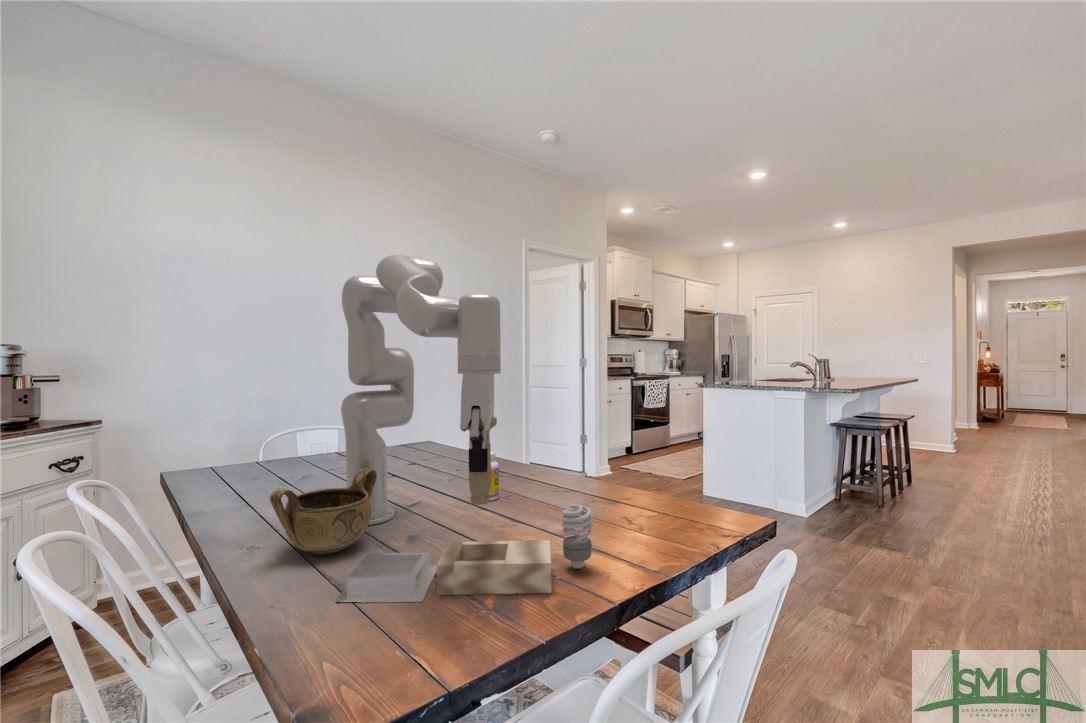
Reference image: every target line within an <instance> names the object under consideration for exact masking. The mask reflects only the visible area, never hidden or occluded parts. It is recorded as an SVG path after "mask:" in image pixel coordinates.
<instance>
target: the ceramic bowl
mask: <svg viewBox="0 0 1086 723" xmlns="http://www.w3.org/2000/svg"><path fill="white" fill-rule="evenodd" d="M376 478H377V474H376V471H375V470H374V469H369V468H361V469H359V470H358V471H357V473H356V474H355V476H354V478H353V481H352V485H351V486H350V487H349V488H347V487H334V488H331V487H330V488H321V489H315V490H311V491H310V490H309V491H306V492H302V493H298V494H296V493H295V492H294V491H292V490H290V489H286V488H276V489H274V490H273V491H272V492H271V495H270V496H269V501H270V504H271V507H272V508H273V510H274V512H275V514H276V516H277V518H278V520H279V522H280V524H281V526H282V527H283V529H284V532H285V534H286V536H287V537H288V538H289V541H290V542H291V543H292V544H293V545H294V546H295V547H297V548H298V549H300V550H302V551H303V552H306V553H309V554H314V555H320V556H321V555H330V554H334V553H338V552H341V551H344V549H347V548H348V547H350V546H352V545H354V544H355V543H356V542H357V541H358V540H359V539H360V538H362V536H363V535H364V533H365V532H366V531H367V529H368V526H369V525H368V524H369V520H370V514H371V506H370V496H371V493H372V490H373V487H374V485H375V482H376ZM284 495H285V497H287V500H286V502H285V503H286V504H285V506H284V504H283V502H282V497H283V496H284Z"/></svg>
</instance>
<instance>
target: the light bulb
mask: <svg viewBox="0 0 1086 723" xmlns="http://www.w3.org/2000/svg"><path fill="white" fill-rule="evenodd" d="M561 513H562V515H563V516H562V517H561V521H562V523H561V526H562V532H563V534H565V535H570V536H568V537H565V538H564V539H563V541H562V550H563V551H562V552H563V556H564V558H565V559H566V560H568V561H570V566H571V567H572V568H574V569H575V570H580V569H582V568H583V567H584V565H585V561H587V560H589V559H590V558H591V556H592V546H593V545H592V540H591V539H590V538H589V536H590V535H591V534H592V527H593V522H592V521H593V518H592V511H591V509H590V508H589V507H588V506H585V505H583V504H576V503H572V504H570V508H566V509H563V510H562V512H561Z"/></svg>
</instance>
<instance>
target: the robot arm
mask: <svg viewBox="0 0 1086 723" xmlns="http://www.w3.org/2000/svg"><path fill="white" fill-rule="evenodd" d="M375 275H376V276H375ZM375 275H355V276H352V277H350V278H347V280H346V281H345V282H344V284H343V287H342V291H341V292H342V293H341V305H342V311H343V313H344V318H345V322H346V326H347V335H348V336H347V337H348V338H347V368H348V377H349V380H350V383H352V384H354V385H355V386H363V387H367V386H371V387H372V386H389V387H390V389H386V390H384V389H383V390H378V389H377V390H364V391H363V390H362V391H355V392H353V393H350V394H348V395H347V396H345V397H344V398H343V400H342V402H341V407H340V413H341V419H342V423H343V429H344V436H345V451H346V452H345V455H346V456H345V458H346V467H345V468H346V488H349V487H350V486H351V485H352V481H353V478H354V476H355V474H356V473H357V471H358V470H359V469H361V468H369V469H374V470H375V471H376V474H377V478H376V482H375V485H374V487H373V490H372V493H371V496H370V506H371V514H370V520H369V524H368V526H372V525H378V524H382V523H384V522H387V521H389V520H392V518H394V516H395V510H394V509H393V508H392V507H389V506H388V505H389V504H388V458H387V457H388V455H387V454H388V453H387V450H388V449H387V444H386V442H385V440H384V439H383V437H382V436H381V434H379V433H378V431H377V430H378V429H383V428H393V427H394V428H395V427H402V426H405V425H407V424H408V423H410V421H411V420H412V417H413V415H414V406H415V404H414V402H415V401H414V400H415V399H414V397H415V396H414V395H415V366H414V360H413V358H412V356H411V354H410V353H409V351H407V350H406V349H404V348H401V347H386V345H385V344H386V343H385V342H386V340H385V334H386V332H385V328H384V325H383V323H382V322H381V320H380V319H379V318H378V316H377V315H376V314H375V313H383V314H397V317H398V319H399V321H400V322H401V323H402V325H404V327H405V328H407V329H408V330H410V331H411V332H412V333H414V334H415V335H417V336H420V337H424V338H452V339H456V338H457V374H459V375H462V381H461V392H460V393H461V396H460V424H459V426H460V427H459V429H460V430H461V432H466V431H467V428H468V427H469V426H468V424H469V422H470V421H472V425H471V424H470V431H468V432H469V436H468V437H469V439H468V440H469V444H468V472H469V471H470V472H487V470H488V448H486V431H487V430H489V429H490V427H491V421H492V418H493V417H495V416H494V415H495V375H496V374H501V373H502V372H501V370H502V368H501V366H502V364H501V356H502V355H501V303H500V300H499V298H497V296H495V295H491V294H478V293H477V294H474V293H473V294H466V295H463V296H461V297H454V296H442V295H441V296H440V290H441V289H442V286H443V284H444V274H443V271H442V269H441V266H440V265H439V264H438V263H437V262H435V260H432V259H430V258H429V259H428V258H422V257H416V256H409V255H401V254H400V255H399V254H393V255H388V256H386V257H383V258H382V259H381V260H380V261H379V262H378V264H377V266H376V269H375ZM479 427H483V430H481V431H479ZM490 430H491V429H490ZM480 434H482V436H481V435H480ZM489 442H490V434H489ZM490 458H491V454H490Z"/></svg>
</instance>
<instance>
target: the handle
mask: <svg viewBox="0 0 1086 723" xmlns="http://www.w3.org/2000/svg"><path fill="white" fill-rule="evenodd" d="M497 422H498V417H496V416H494V417H493V418H492V421H491V427H490V429H489V430H487V431H486V448H488V470H487V472H470V471H469V470H468V482H469V483H468V484H469V492H470V494H471V496H470V502H471V504H472V505H476V506H481V505H487V504H488V503H489V502H490V501H489V498H490V494H489V493H490V488H491V458H490V452H491V443H490V442H489V435H490V431H491V430H492V429H493V428H494V427H495V426H497ZM470 424H471V425H472V421H470V422H469V424H468V426H469V427H468V428H467V430H468V432H470ZM467 430H466V431H467ZM481 430H483V427H479V431H481ZM480 435H481V436H482V434H480Z"/></svg>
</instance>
